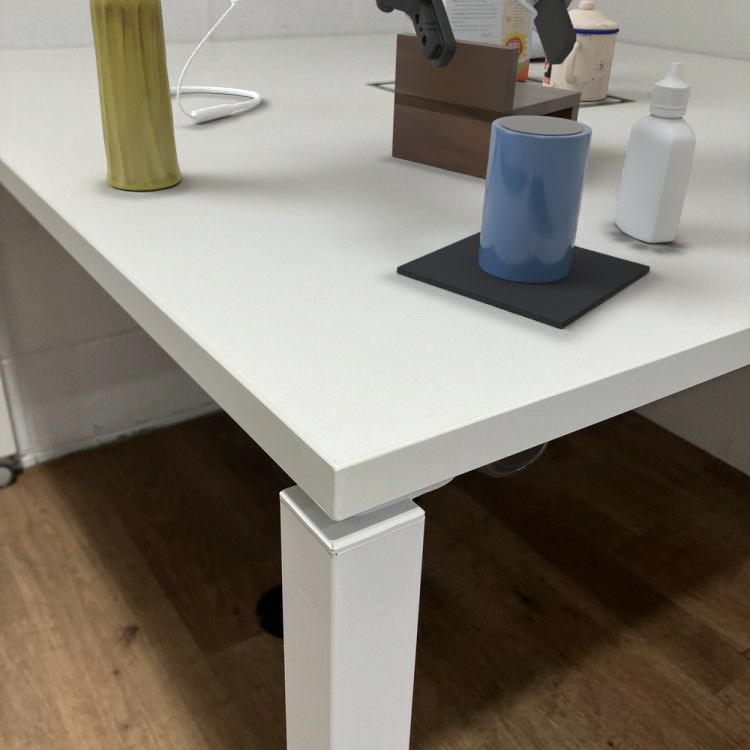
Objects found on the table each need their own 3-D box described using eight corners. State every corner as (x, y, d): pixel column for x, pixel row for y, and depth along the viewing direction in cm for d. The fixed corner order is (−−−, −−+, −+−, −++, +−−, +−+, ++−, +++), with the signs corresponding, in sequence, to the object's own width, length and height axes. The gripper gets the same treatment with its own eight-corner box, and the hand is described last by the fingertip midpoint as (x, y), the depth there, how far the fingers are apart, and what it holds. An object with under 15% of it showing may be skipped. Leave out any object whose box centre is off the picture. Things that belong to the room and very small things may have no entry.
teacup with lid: (546, 86, 115) (558, -4, 110) (612, 93, 113) (627, 0, 107) (528, 101, 106) (540, 2, 100) (599, 108, 103) (615, 7, 97)
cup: (508, 243, 57) (524, 110, 53) (586, 266, 54) (610, 125, 49) (459, 266, 53) (472, 123, 49) (540, 292, 50) (562, 141, 45)
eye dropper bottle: (671, 224, 63) (707, 59, 58) (675, 247, 59) (714, 71, 53) (614, 217, 64) (643, 55, 58) (613, 240, 60) (644, 67, 54)
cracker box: (508, 75, 123) (525, -84, 113) (528, 82, 118) (548, -84, 108) (423, 77, 119) (432, -88, 109) (440, 85, 114) (451, -88, 104)
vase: (175, 169, 72) (159, -9, 65) (187, 188, 67) (172, -2, 60) (103, 173, 70) (79, -9, 63) (110, 194, 65) (85, -2, 58)
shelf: (472, 133, 88) (482, 23, 83) (572, 154, 82) (590, 36, 76) (391, 156, 79) (396, 33, 74) (496, 181, 72) (511, 48, 67)
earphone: (81, 84, 85) (133, -45, 91) (143, 178, 100) (183, 62, 106) (204, 94, 82) (248, -40, 89) (247, 189, 98) (282, 69, 104)
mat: (496, 229, 61) (497, 224, 61) (649, 271, 54) (650, 266, 54) (396, 272, 53) (396, 266, 53) (561, 329, 46) (562, 322, 46)
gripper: (353, -209, 49) (426, 19, 46) (553, -190, 54) (632, 16, 51) (323, -106, 56) (384, 99, 52) (502, -98, 61) (569, 90, 57)
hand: (506, 58), depth 52 cm, fingers open, 8 cm apart
